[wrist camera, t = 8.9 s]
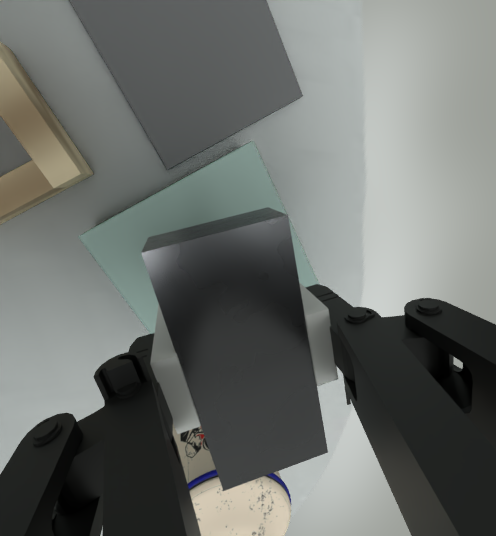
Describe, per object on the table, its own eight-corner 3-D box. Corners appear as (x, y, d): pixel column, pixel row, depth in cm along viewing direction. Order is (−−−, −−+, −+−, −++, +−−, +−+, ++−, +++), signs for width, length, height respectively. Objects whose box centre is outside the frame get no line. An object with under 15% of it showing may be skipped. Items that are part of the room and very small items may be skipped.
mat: (43, -44, 18) (40, -50, 17) (213, -129, 18) (213, -137, 18) (167, 169, 22) (167, 169, 22) (300, 97, 23) (302, 95, 22)
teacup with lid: (265, 381, 29) (317, 506, 18) (257, 458, 31) (299, 608, 20) (130, 391, 26) (95, 543, 15) (133, 474, 29) (104, 656, 18)
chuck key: (201, 332, 22) (223, 491, 11) (162, 205, 19) (141, 252, 8) (255, 316, 22) (327, 452, 11) (226, 190, 19) (288, 215, 8)
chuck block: (95, 226, 22) (78, 236, 18) (241, 146, 23) (253, 140, 19) (203, 378, 27) (207, 410, 24) (319, 310, 28) (340, 331, 24)
